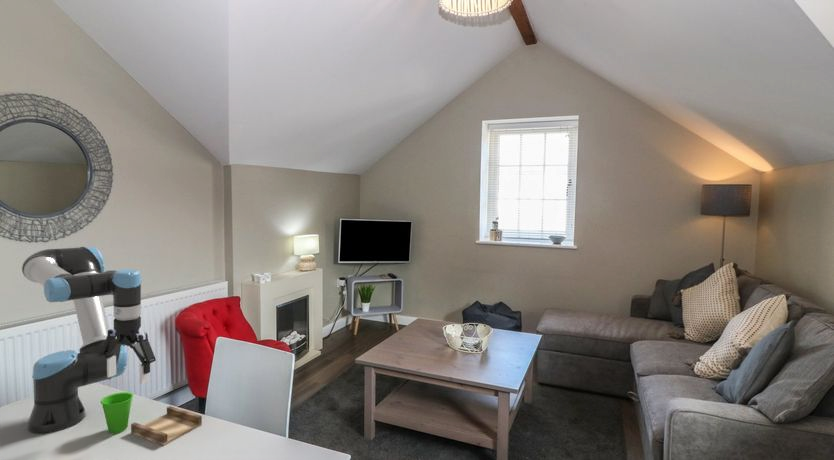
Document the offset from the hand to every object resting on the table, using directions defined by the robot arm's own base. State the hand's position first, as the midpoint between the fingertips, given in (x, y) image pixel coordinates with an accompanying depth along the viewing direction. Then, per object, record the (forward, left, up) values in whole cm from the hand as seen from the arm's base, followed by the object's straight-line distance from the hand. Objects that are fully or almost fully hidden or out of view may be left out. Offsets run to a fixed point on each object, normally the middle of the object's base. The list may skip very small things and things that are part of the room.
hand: (127, 379), depth 145 cm
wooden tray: (+11, +6, -18) cm, 21 cm away
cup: (-3, -1, -18) cm, 18 cm away
